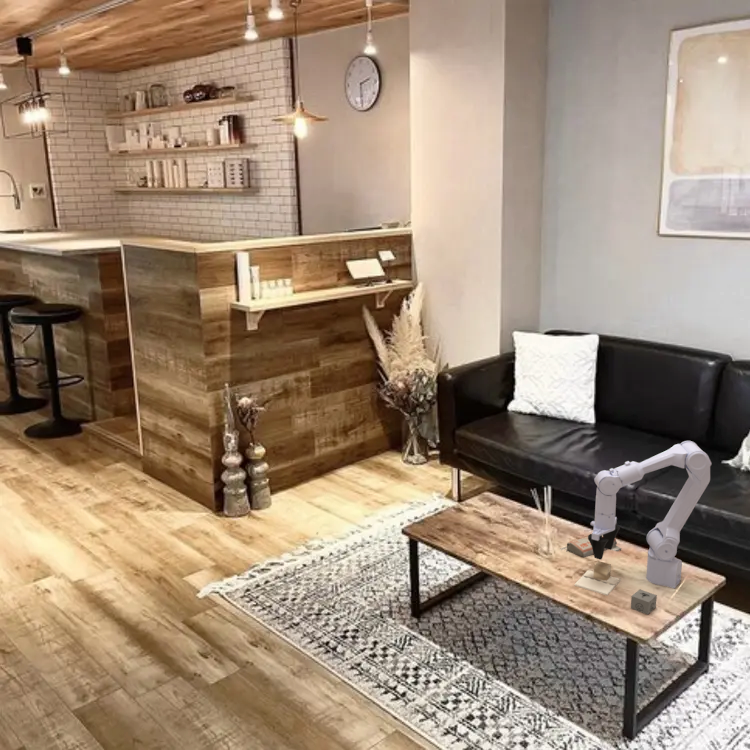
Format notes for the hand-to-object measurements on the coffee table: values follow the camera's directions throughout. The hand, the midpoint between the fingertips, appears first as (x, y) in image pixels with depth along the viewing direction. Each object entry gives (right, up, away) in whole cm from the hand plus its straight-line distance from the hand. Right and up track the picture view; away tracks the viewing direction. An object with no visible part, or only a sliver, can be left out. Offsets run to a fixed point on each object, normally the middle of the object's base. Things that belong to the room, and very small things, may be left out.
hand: (603, 553), depth 231 cm
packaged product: (+2, -5, +22) cm, 23 cm away
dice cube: (+7, -13, -14) cm, 21 cm away
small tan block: (0, -8, +2) cm, 8 cm away
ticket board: (-1, -9, +1) cm, 10 cm away
